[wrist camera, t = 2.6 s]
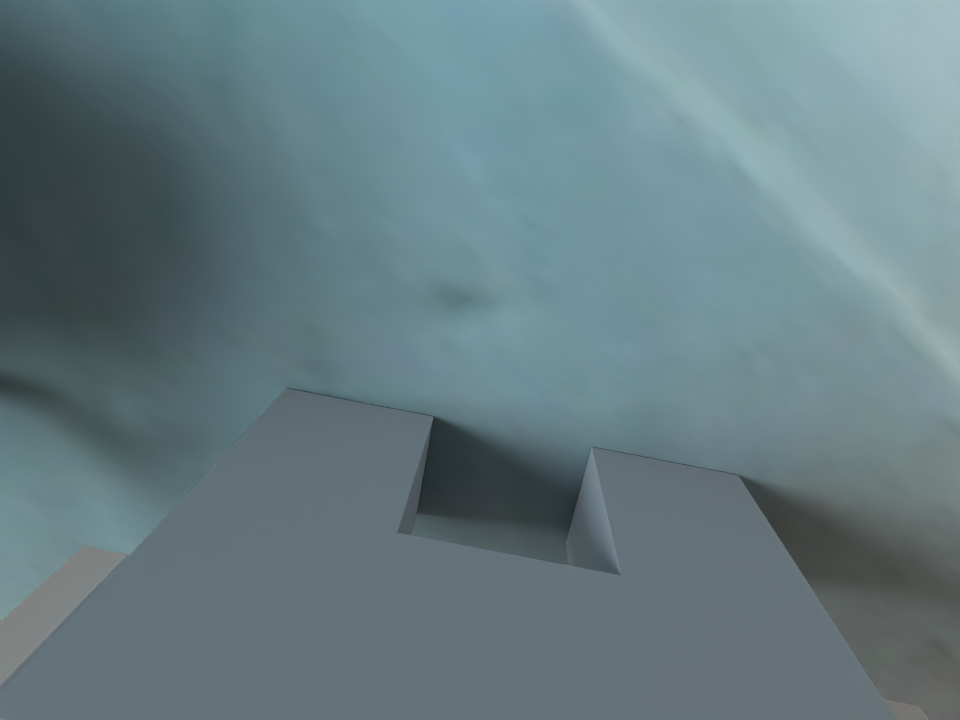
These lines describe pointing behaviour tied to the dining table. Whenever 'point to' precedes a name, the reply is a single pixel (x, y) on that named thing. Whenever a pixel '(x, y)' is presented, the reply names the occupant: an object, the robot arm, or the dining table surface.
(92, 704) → the grey slotted slab
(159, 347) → the dining table surface
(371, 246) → the dining table surface
